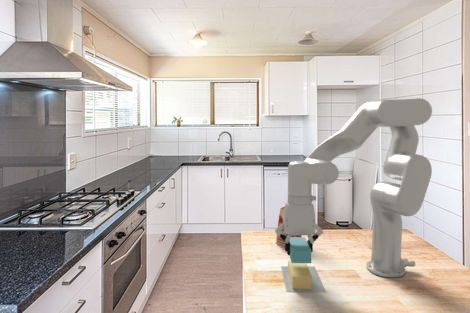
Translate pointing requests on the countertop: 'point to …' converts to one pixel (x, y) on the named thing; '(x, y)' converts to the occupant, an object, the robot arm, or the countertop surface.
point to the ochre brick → (299, 275)
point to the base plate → (316, 287)
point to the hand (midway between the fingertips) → (298, 253)
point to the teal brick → (299, 250)
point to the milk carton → (280, 221)
